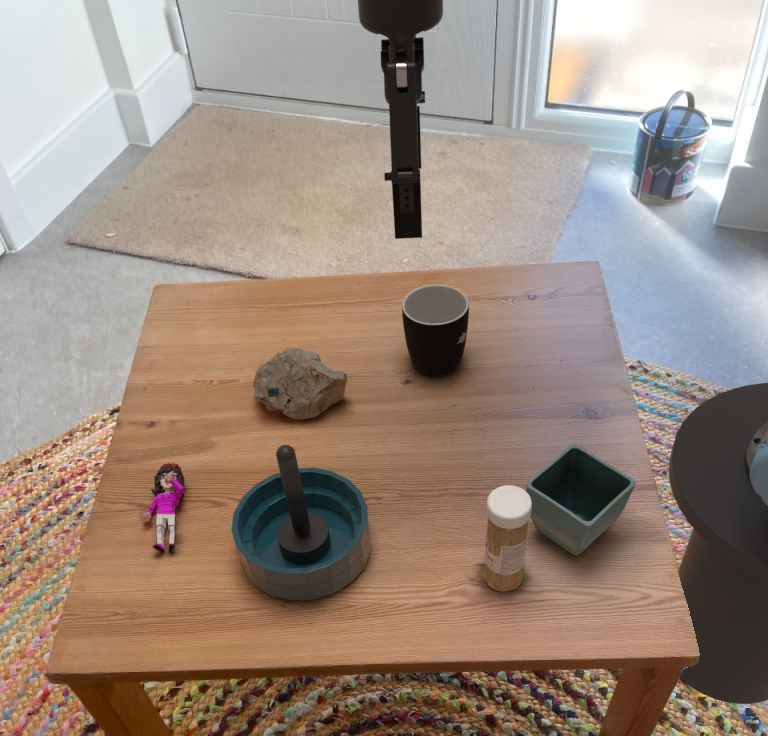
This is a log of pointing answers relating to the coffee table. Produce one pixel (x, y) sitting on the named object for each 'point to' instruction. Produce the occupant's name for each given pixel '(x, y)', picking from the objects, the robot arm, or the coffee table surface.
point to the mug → (435, 328)
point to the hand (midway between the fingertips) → (408, 200)
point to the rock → (298, 384)
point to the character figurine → (166, 502)
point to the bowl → (270, 508)
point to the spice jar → (506, 537)
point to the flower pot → (577, 498)
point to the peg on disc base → (299, 517)
